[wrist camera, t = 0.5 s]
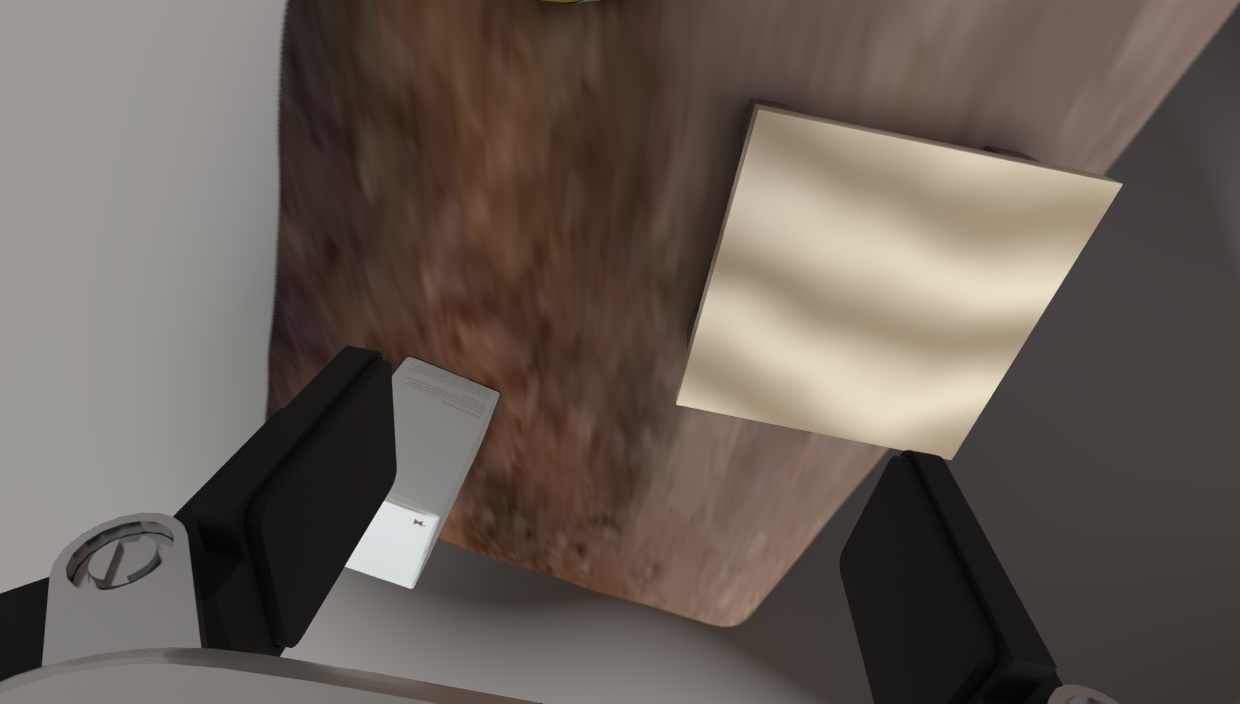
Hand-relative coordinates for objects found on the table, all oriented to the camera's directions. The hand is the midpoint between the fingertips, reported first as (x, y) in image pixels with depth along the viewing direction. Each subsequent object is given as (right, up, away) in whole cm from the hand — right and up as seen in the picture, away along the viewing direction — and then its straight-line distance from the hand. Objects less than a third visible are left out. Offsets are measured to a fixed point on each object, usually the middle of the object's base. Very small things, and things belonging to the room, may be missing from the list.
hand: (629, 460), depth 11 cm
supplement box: (-14, -2, +35) cm, 37 cm away
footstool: (+13, +8, +25) cm, 29 cm away
